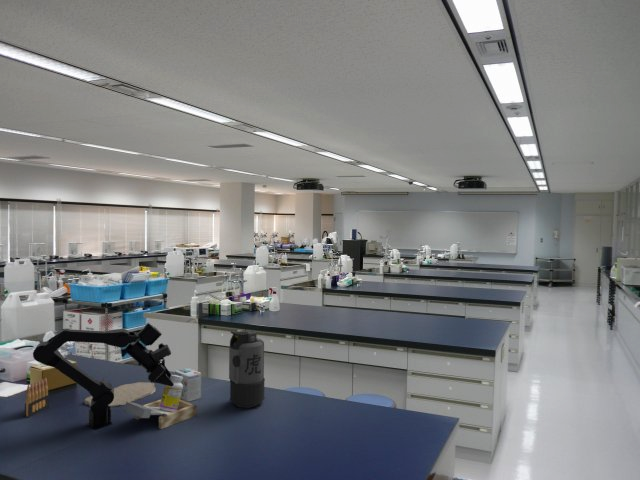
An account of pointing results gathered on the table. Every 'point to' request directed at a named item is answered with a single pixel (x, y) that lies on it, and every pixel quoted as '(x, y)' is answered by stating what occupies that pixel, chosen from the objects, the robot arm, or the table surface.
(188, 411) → the tan framed slab
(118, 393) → the stone tablet
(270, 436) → the table surface
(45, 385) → the ammunition clip
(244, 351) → the kanji thermos flask
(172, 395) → the supplement bottle
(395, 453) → the table surface
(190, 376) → the light bulb box
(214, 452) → the table surface
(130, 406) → the trapdoor
